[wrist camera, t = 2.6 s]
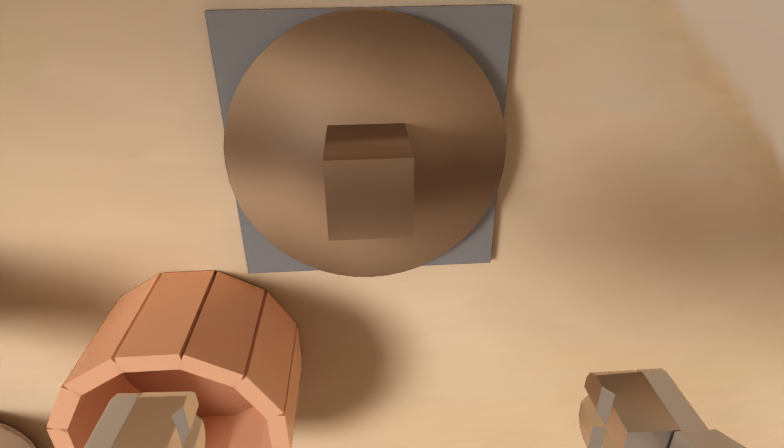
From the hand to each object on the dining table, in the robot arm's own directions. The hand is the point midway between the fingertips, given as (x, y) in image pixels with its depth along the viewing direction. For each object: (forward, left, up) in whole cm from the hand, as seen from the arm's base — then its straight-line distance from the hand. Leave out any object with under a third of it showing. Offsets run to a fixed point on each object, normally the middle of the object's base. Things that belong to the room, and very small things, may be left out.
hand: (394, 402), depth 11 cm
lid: (0, 0, -14) cm, 14 cm away
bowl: (+11, -9, -15) cm, 20 cm away
